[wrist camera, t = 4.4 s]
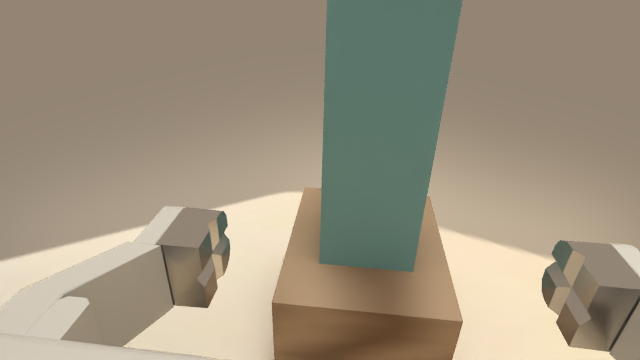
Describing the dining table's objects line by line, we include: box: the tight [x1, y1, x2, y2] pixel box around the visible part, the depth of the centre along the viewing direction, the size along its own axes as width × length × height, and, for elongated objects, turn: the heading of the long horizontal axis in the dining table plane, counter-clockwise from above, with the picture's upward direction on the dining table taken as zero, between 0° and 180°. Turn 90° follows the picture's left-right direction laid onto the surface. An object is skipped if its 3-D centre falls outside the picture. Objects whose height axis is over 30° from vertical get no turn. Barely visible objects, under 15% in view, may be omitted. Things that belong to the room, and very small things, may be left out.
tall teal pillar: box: [319, 0, 462, 272], centre depth 18 cm, size 4×4×12 cm
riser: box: [272, 187, 463, 360], centre depth 22 cm, size 8×10×6 cm
